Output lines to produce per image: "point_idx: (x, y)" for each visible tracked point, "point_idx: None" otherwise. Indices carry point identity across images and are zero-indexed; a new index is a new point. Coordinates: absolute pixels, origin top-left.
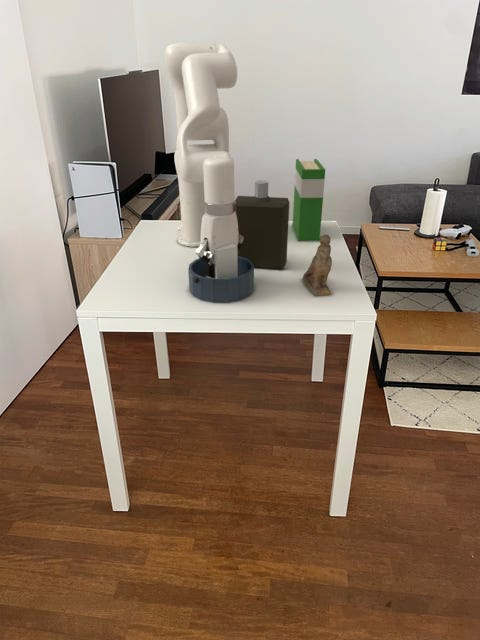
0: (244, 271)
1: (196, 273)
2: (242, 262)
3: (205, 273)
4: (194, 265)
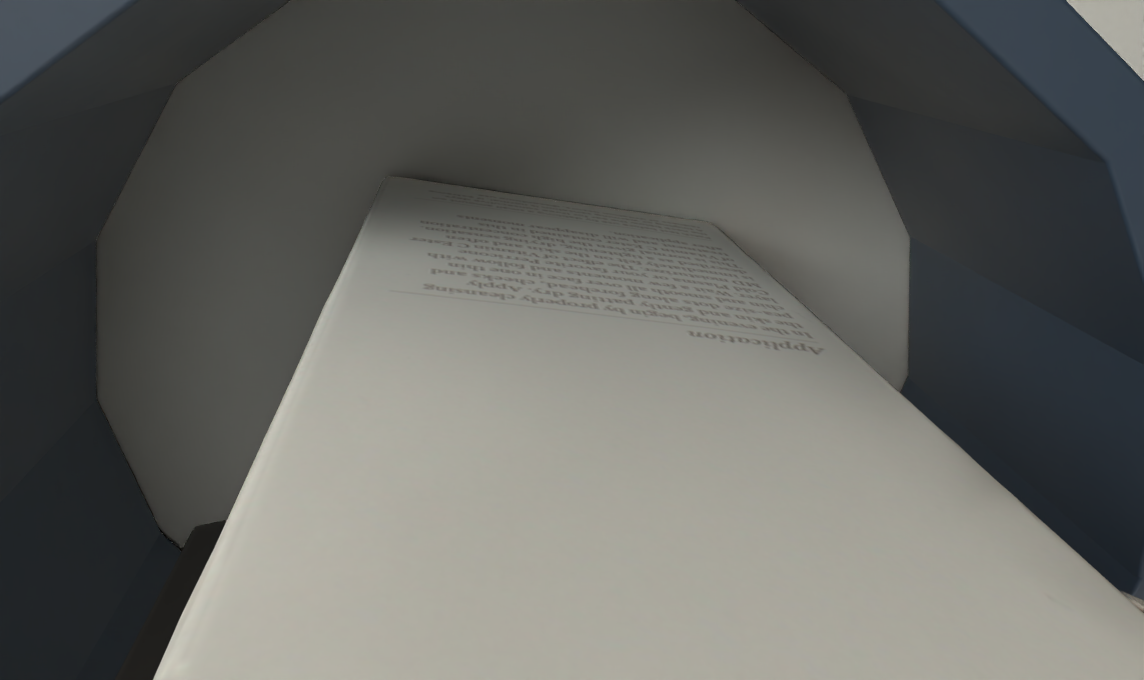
0: (984, 415)
1: (230, 11)
2: (1091, 449)
3: (191, 546)
4: (76, 71)
